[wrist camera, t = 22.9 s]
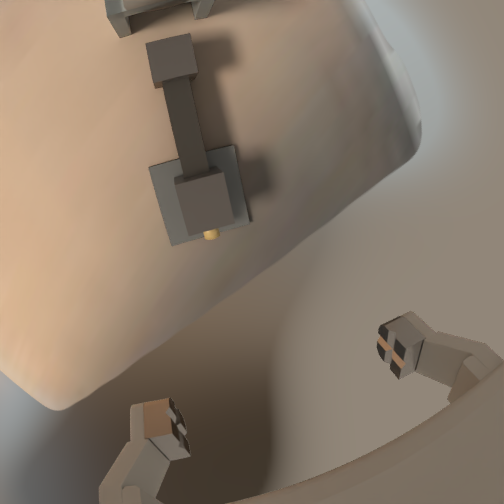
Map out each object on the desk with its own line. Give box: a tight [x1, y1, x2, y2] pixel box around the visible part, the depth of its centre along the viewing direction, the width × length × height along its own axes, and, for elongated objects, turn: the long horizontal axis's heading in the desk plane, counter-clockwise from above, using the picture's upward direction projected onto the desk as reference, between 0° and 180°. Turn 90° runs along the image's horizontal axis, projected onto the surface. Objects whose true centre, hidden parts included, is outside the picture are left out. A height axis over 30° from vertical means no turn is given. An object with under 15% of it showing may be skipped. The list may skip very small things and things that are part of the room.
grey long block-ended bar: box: [146, 33, 235, 240], centre depth 27 cm, size 20×4×4 cm, turn 11°
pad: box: [149, 145, 250, 246], centre depth 32 cm, size 9×9×1 cm
